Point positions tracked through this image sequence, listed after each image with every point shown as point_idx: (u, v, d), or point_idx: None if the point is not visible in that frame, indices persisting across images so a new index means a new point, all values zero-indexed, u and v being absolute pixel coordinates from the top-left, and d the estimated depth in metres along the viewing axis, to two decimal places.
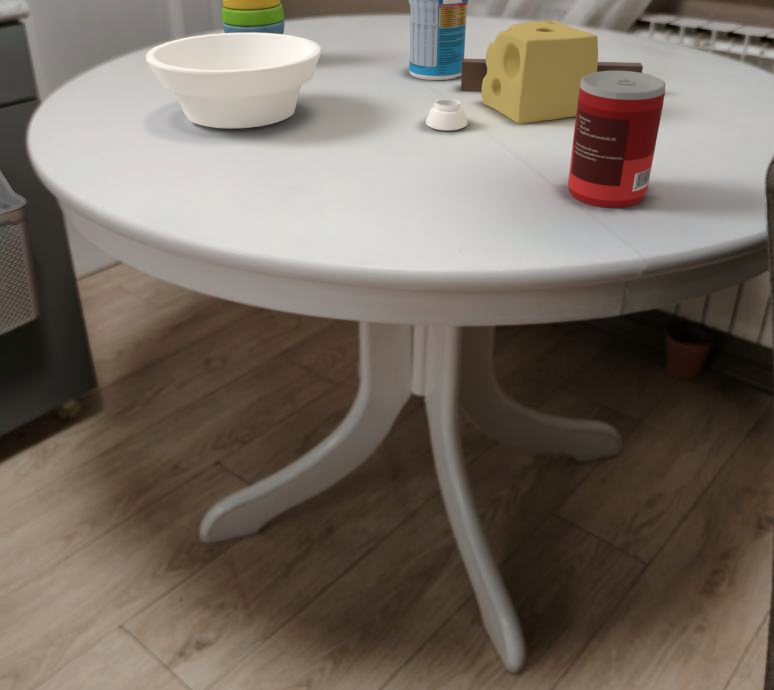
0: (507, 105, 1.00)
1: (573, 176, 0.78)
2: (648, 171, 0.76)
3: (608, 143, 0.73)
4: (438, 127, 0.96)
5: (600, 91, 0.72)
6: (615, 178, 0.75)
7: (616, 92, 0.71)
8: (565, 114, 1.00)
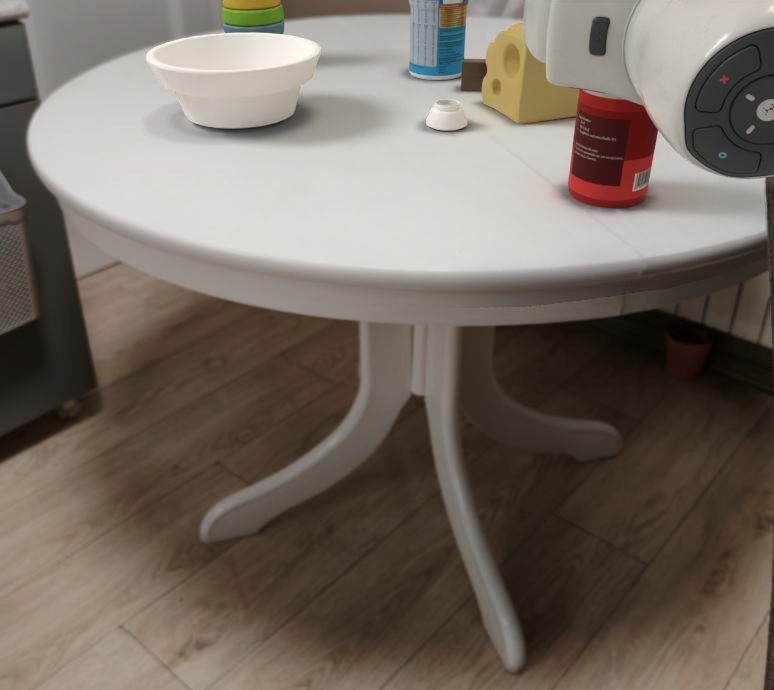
0: (507, 105, 1.00)
1: (573, 176, 0.78)
2: (648, 171, 0.76)
3: (608, 143, 0.73)
4: (438, 127, 0.96)
5: None
6: (615, 178, 0.75)
7: None
8: (565, 114, 1.00)
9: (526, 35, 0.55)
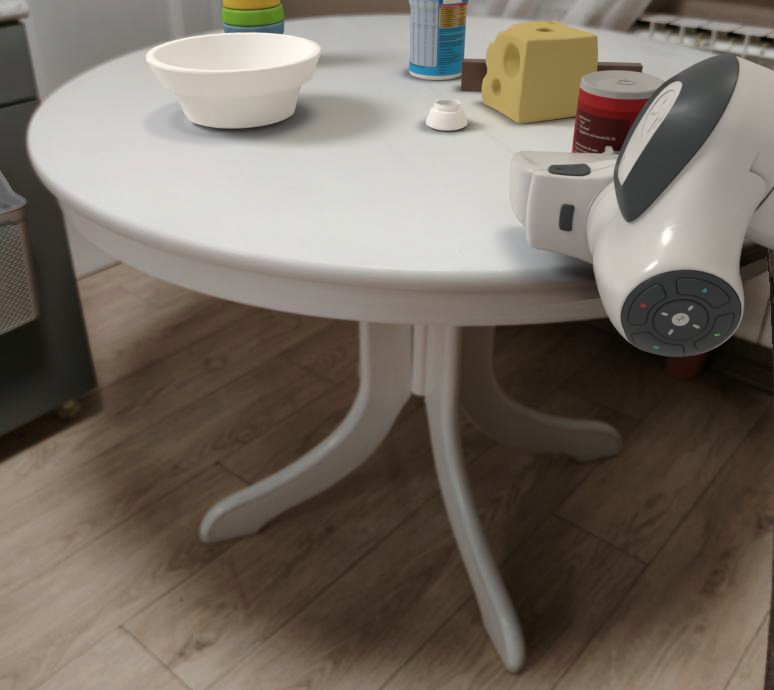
0: (507, 105, 1.00)
1: None
2: None
3: (607, 142, 0.73)
4: (438, 127, 0.96)
5: (600, 90, 0.72)
6: None
7: (616, 92, 0.71)
8: (565, 114, 1.00)
9: (511, 198, 0.68)
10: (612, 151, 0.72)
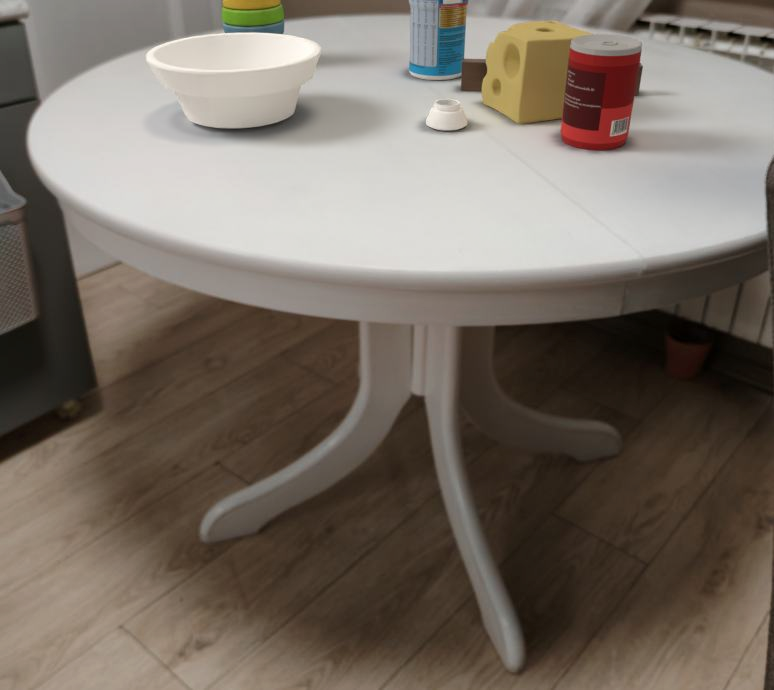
0: (507, 105, 1.00)
1: (562, 123, 0.92)
2: (625, 120, 0.90)
3: (588, 92, 0.87)
4: (438, 127, 0.96)
5: (582, 48, 0.86)
6: (594, 124, 0.89)
7: (594, 49, 0.85)
8: None
9: None
10: None
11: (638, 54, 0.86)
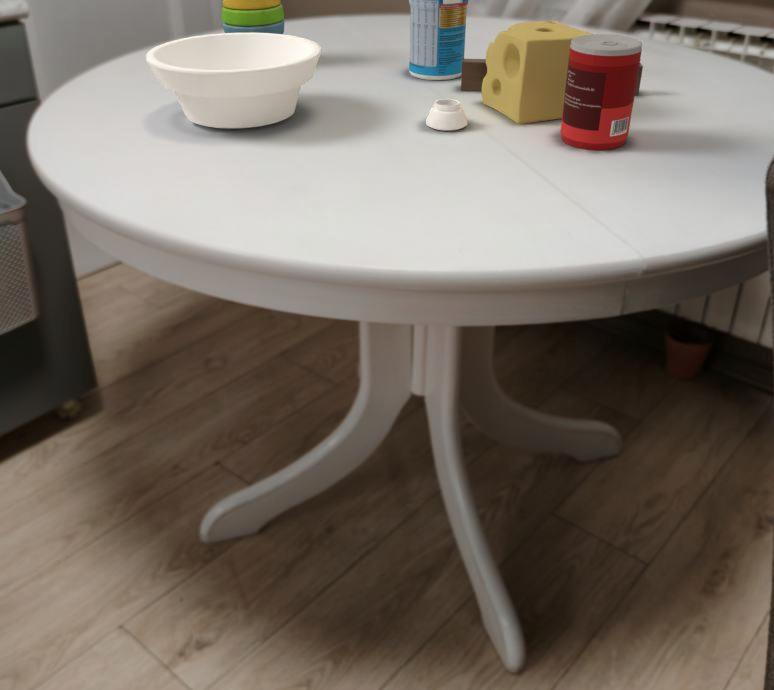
0: (507, 105, 1.00)
1: (562, 123, 0.92)
2: (625, 120, 0.90)
3: (588, 92, 0.87)
4: (438, 127, 0.96)
5: (582, 48, 0.86)
6: (594, 124, 0.89)
7: (594, 49, 0.85)
8: None
9: None
10: None
11: (638, 54, 0.86)
